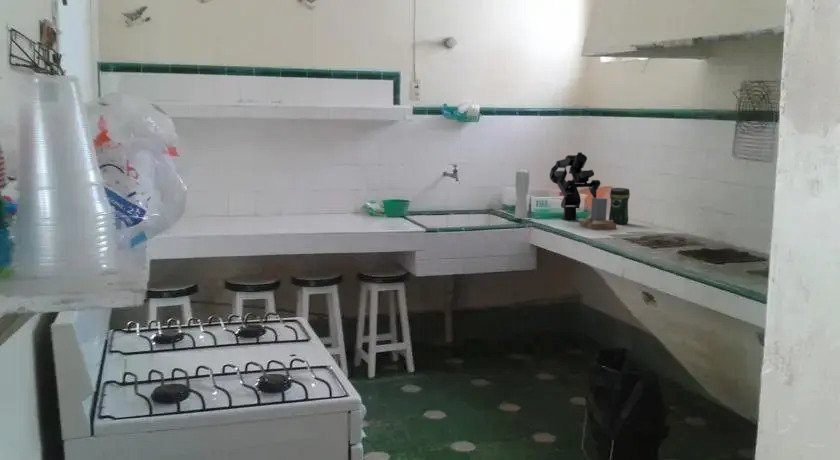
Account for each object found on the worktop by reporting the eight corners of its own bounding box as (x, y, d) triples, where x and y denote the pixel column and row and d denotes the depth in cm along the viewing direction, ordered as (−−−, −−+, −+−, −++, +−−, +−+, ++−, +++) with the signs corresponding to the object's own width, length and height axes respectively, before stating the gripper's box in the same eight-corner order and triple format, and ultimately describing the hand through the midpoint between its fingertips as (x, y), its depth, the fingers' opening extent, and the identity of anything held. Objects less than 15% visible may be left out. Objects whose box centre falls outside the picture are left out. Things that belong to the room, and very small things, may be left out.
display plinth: (580, 225, 386) (580, 217, 386) (600, 224, 390) (601, 217, 389) (594, 229, 373) (595, 221, 372) (616, 229, 377) (616, 221, 376)
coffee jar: (630, 223, 397) (632, 188, 394) (623, 225, 391) (625, 189, 388) (613, 221, 403) (615, 186, 400) (606, 223, 397) (608, 187, 394)
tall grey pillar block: (590, 221, 383) (592, 197, 381) (600, 221, 384) (601, 197, 383) (596, 223, 378) (597, 199, 376) (605, 222, 380) (607, 198, 378)
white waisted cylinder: (525, 221, 400) (527, 167, 396) (511, 219, 404) (513, 166, 400) (531, 219, 407) (533, 167, 403) (517, 218, 411) (519, 166, 407)
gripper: (567, 164, 388) (577, 188, 379) (599, 164, 394) (610, 187, 385) (559, 178, 396) (569, 202, 388) (591, 178, 402) (601, 201, 393)
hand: (587, 198), depth 388 cm, fingers open, 9 cm apart
